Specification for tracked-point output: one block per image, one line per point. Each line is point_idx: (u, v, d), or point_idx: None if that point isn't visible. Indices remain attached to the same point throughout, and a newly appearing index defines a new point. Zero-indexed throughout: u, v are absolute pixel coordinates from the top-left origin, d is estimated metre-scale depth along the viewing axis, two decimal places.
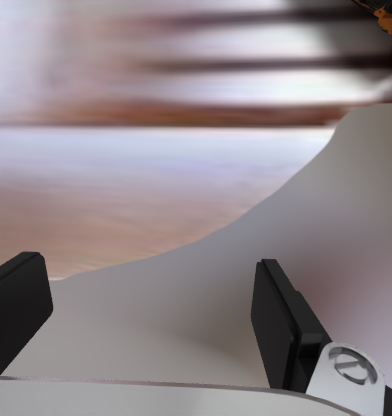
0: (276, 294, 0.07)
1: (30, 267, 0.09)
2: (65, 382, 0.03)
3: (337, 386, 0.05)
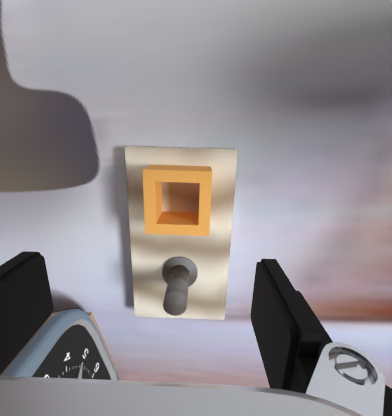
0: (276, 294, 0.07)
1: (30, 267, 0.09)
2: (65, 382, 0.03)
3: (337, 386, 0.05)
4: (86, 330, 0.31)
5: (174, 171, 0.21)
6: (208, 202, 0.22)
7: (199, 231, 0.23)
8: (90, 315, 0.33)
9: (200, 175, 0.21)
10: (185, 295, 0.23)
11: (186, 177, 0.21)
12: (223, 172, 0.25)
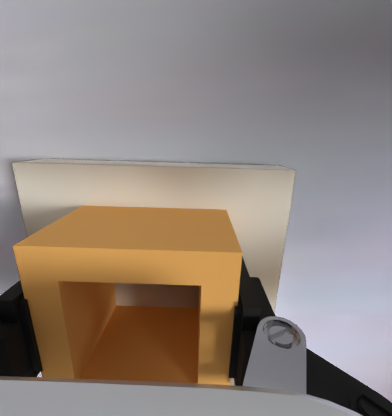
0: None
1: None
2: (65, 382, 0.03)
3: (271, 355, 0.05)
4: None
5: (117, 252, 0.06)
6: (226, 336, 0.07)
7: None
8: None
9: (202, 264, 0.06)
10: None
11: (158, 269, 0.07)
12: (257, 223, 0.10)
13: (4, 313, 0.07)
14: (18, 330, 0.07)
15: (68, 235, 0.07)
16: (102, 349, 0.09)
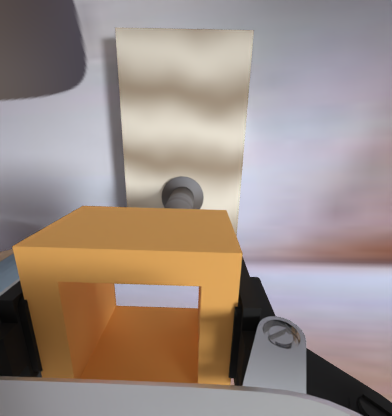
0: None
1: None
2: (65, 382, 0.03)
3: (271, 355, 0.05)
4: None
5: (117, 252, 0.06)
6: (226, 337, 0.07)
7: None
8: None
9: (202, 264, 0.06)
10: (189, 205, 0.19)
11: (158, 270, 0.07)
12: (235, 61, 0.20)
13: (4, 313, 0.07)
14: (18, 330, 0.07)
15: (68, 236, 0.07)
16: (102, 350, 0.09)
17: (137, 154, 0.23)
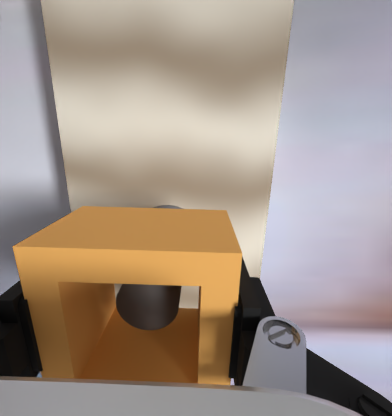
0: None
1: None
2: (65, 382, 0.03)
3: (271, 355, 0.05)
4: None
5: (117, 252, 0.06)
6: (226, 337, 0.07)
7: None
8: None
9: (202, 264, 0.06)
10: None
11: (158, 270, 0.07)
12: None
13: (4, 313, 0.07)
14: (18, 330, 0.07)
15: (68, 236, 0.07)
16: (102, 349, 0.09)
17: (88, 168, 0.13)
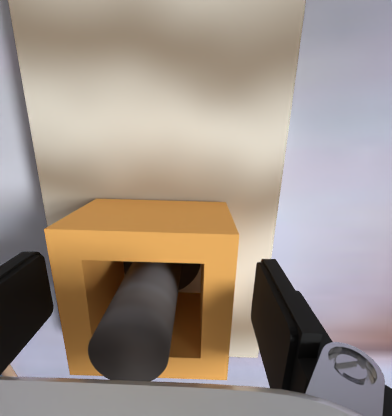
0: (276, 294, 0.07)
1: (30, 267, 0.09)
2: (65, 382, 0.03)
3: (337, 386, 0.05)
4: None
5: (133, 234, 0.08)
6: (226, 309, 0.08)
7: (203, 370, 0.09)
8: None
9: (205, 244, 0.08)
10: (165, 318, 0.07)
11: (168, 249, 0.08)
12: None
13: None
14: None
15: (89, 221, 0.08)
16: None
17: (66, 175, 0.11)
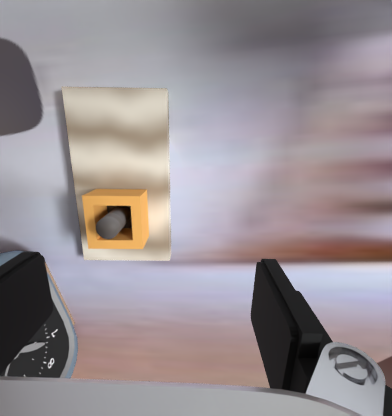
0: (276, 294, 0.07)
1: (30, 267, 0.09)
2: (65, 382, 0.03)
3: (337, 386, 0.05)
4: None
5: (108, 196, 0.25)
6: (139, 221, 0.26)
7: (134, 245, 0.27)
8: None
9: (130, 199, 0.26)
10: (118, 220, 0.25)
11: (119, 201, 0.26)
12: (155, 110, 0.27)
13: None
14: None
15: (95, 194, 0.26)
16: None
17: (84, 180, 0.29)
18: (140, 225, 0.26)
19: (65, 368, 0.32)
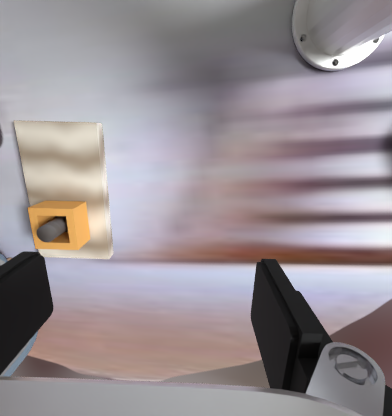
0: (276, 294, 0.07)
1: (30, 267, 0.09)
2: (65, 382, 0.03)
3: (337, 386, 0.05)
4: None
5: (48, 209, 0.32)
6: (73, 228, 0.33)
7: (71, 247, 0.34)
8: (9, 259, 0.41)
9: (65, 211, 0.32)
10: (55, 228, 0.32)
11: (56, 212, 0.33)
12: (88, 139, 0.34)
13: None
14: None
15: (39, 206, 0.33)
16: None
17: (36, 193, 0.36)
18: (74, 231, 0.33)
19: None
